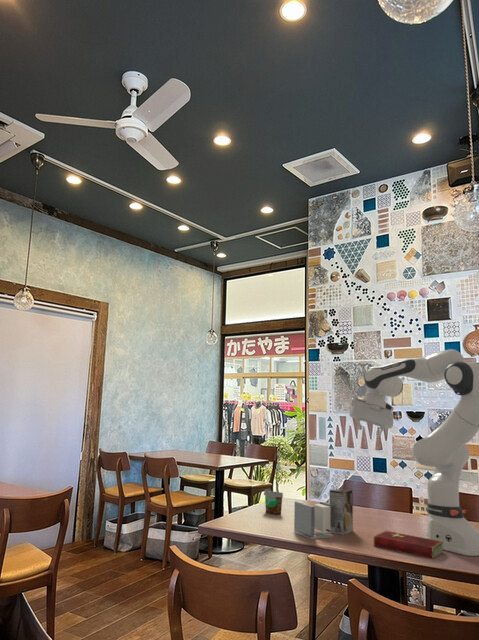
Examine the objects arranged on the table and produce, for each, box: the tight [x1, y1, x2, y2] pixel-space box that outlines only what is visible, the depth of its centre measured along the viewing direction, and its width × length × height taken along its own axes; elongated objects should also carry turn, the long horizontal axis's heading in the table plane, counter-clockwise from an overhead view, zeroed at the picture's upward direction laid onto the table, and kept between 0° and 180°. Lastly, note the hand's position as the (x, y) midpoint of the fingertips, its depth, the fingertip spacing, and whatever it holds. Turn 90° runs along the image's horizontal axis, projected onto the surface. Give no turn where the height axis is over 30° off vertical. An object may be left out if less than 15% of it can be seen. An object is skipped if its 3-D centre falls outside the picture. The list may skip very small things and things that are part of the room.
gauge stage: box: [312, 501, 335, 533], centre depth 181 cm, size 9×5×10 cm, turn 28°
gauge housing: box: [293, 501, 334, 540], centre depth 179 cm, size 11×10×12 cm
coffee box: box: [329, 488, 354, 536], centre depth 186 cm, size 9×6×16 cm
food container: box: [263, 488, 284, 516], centre depth 216 cm, size 12×6×10 cm, turn 25°
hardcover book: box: [373, 530, 443, 560], centre depth 164 cm, size 12×21×4 cm, turn 51°
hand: (369, 432), depth 205 cm, fingers open, 8 cm apart
